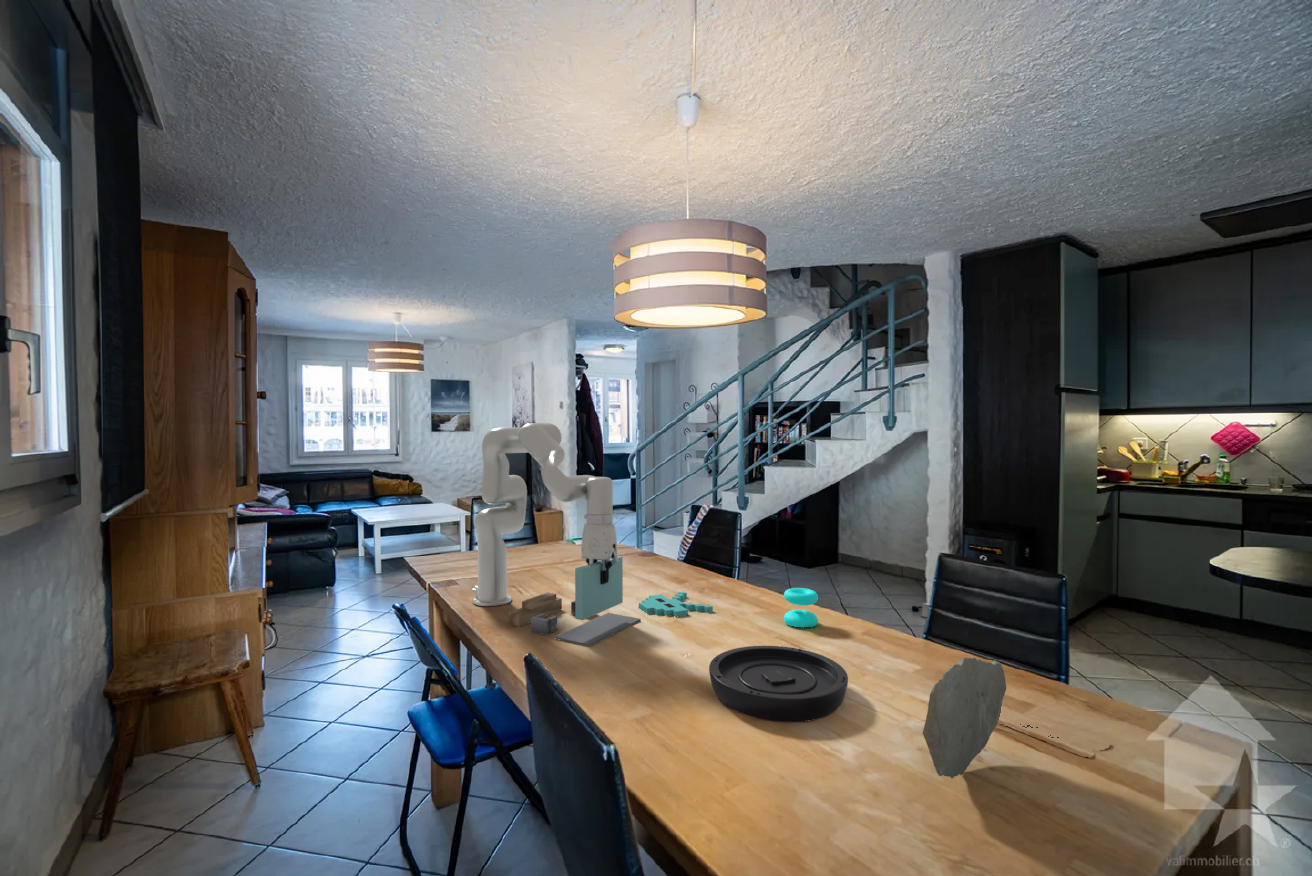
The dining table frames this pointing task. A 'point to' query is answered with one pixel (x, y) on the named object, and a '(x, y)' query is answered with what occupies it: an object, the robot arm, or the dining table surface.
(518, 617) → the offcut stack
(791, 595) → the donuts
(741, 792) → the dining table surface
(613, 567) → the teal sheet
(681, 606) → the alien figure
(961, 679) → the rock
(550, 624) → the slab rack
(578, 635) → the rubber mat
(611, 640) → the dining table surface
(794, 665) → the round tray
